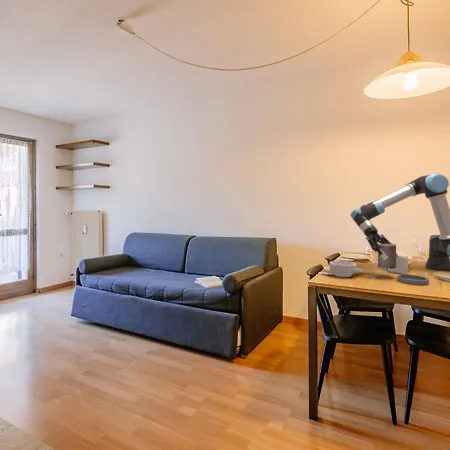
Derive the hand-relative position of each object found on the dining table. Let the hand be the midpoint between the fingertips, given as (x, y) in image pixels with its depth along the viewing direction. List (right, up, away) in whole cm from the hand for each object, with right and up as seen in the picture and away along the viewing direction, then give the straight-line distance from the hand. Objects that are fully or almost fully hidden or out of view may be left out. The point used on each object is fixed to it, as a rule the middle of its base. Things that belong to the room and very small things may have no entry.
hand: (391, 258), depth 182 cm
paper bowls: (-26, -12, +6) cm, 30 cm away
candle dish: (+7, -12, -8) cm, 17 cm away
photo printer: (+12, -11, +15) cm, 22 cm away
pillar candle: (-1, -6, +3) cm, 7 cm away
